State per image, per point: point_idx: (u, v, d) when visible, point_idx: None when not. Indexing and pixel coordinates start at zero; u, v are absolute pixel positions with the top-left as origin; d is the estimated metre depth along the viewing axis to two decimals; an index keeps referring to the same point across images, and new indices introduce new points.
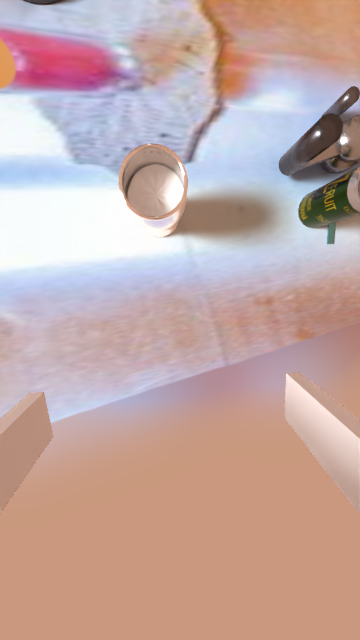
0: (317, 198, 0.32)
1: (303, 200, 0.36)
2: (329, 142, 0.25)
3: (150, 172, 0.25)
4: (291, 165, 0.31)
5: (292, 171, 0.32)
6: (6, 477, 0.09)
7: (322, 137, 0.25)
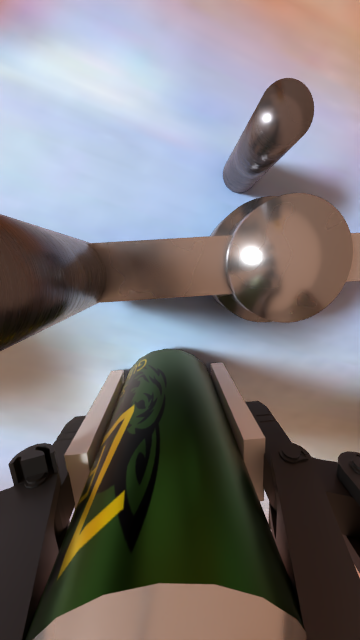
0: (107, 426, 0.09)
1: (132, 368, 0.13)
2: None
3: None
4: None
5: None
6: None
7: None
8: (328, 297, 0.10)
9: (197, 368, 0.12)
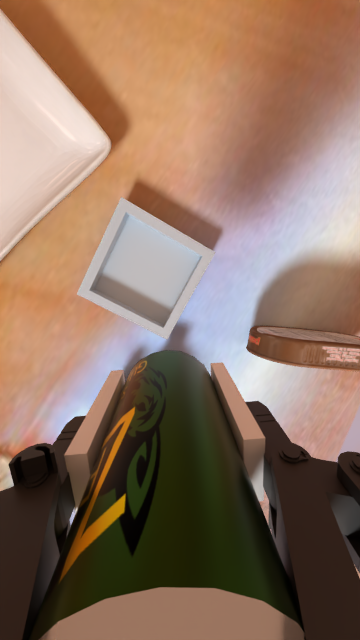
0: (108, 429, 0.09)
1: (133, 370, 0.13)
2: None
3: None
4: None
5: None
6: None
7: None
8: None
9: (197, 370, 0.12)
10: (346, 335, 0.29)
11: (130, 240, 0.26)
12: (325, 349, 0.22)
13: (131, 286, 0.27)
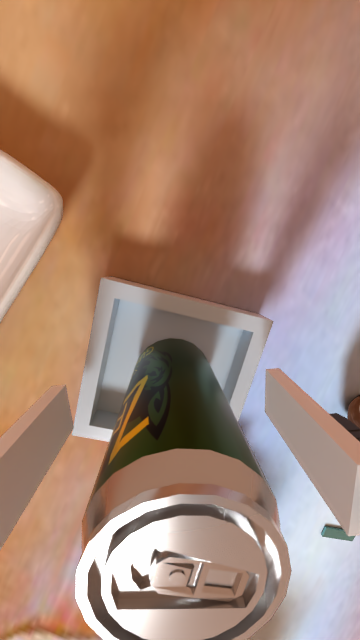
0: (125, 395, 0.11)
1: (141, 355, 0.15)
2: None
3: None
4: None
5: None
6: (38, 461, 0.10)
7: None
8: None
9: (196, 352, 0.14)
10: None
11: (132, 330, 0.16)
12: None
13: None
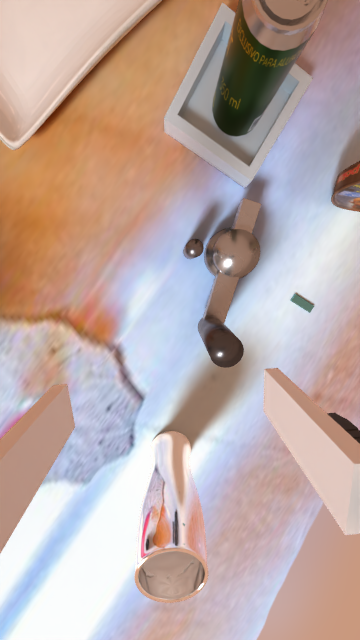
0: None
1: None
2: (239, 356, 0.20)
3: None
4: None
5: None
6: (40, 460, 0.10)
7: (229, 361, 0.20)
8: (255, 242, 0.25)
9: None
10: None
11: (219, 69, 0.24)
12: None
13: (215, 124, 0.25)
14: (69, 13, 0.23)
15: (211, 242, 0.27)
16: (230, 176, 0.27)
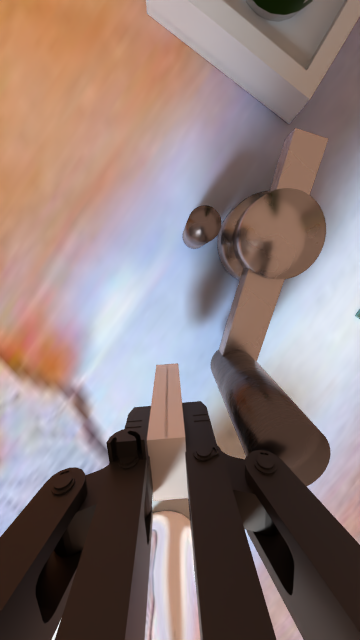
0: None
1: None
2: (319, 468, 0.09)
3: None
4: None
5: None
6: None
7: None
8: (318, 213, 0.13)
9: None
10: None
11: None
12: None
13: None
14: None
15: (232, 218, 0.15)
16: (265, 100, 0.15)
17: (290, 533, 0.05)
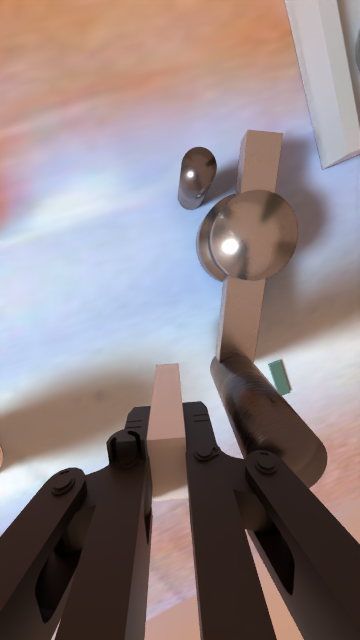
0: None
1: None
2: (318, 469, 0.09)
3: None
4: None
5: None
6: None
7: None
8: (286, 208, 0.13)
9: None
10: None
11: None
12: None
13: (355, 37, 0.14)
14: None
15: (228, 199, 0.15)
16: (318, 134, 0.16)
17: (290, 533, 0.05)
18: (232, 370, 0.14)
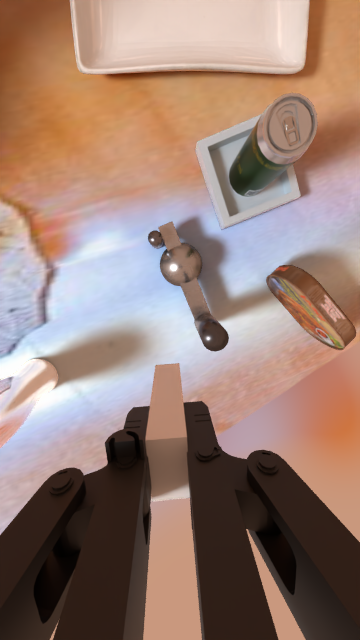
0: None
1: None
2: (226, 336, 0.26)
3: None
4: None
5: None
6: None
7: (222, 343, 0.26)
8: (187, 248, 0.31)
9: None
10: None
11: None
12: (325, 297, 0.29)
13: None
14: (186, 25, 0.28)
15: None
16: (216, 214, 0.33)
17: (292, 533, 0.05)
18: (198, 321, 0.31)
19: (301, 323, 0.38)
